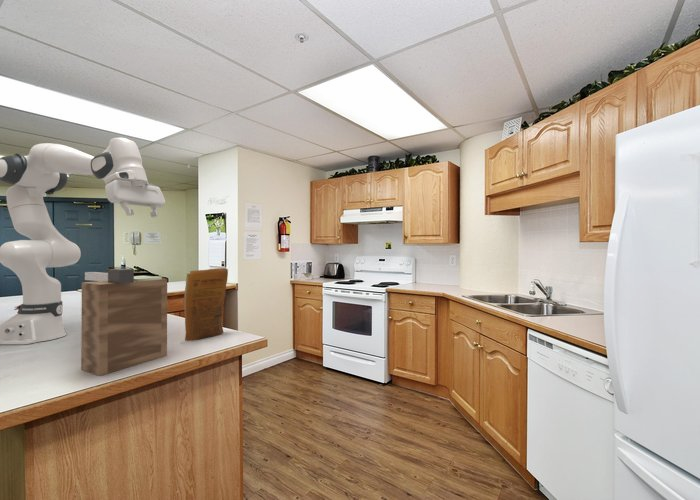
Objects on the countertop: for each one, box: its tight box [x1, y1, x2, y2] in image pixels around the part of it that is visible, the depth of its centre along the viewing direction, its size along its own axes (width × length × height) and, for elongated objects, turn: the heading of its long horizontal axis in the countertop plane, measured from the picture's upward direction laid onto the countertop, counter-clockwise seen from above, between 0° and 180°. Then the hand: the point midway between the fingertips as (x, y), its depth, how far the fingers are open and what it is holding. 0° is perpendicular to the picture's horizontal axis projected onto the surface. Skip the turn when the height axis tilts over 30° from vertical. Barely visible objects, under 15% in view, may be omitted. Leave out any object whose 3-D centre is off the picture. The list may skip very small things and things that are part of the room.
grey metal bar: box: [84, 268, 135, 284], centre depth 100 cm, size 21×4×4 cm, turn 63°
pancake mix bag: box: [183, 267, 229, 341], centre depth 132 cm, size 7×19×28 cm, turn 142°
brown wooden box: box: [80, 275, 168, 377], centre depth 103 cm, size 10×20×27 cm, turn 153°
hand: (143, 216), depth 117 cm, fingers open, 8 cm apart
